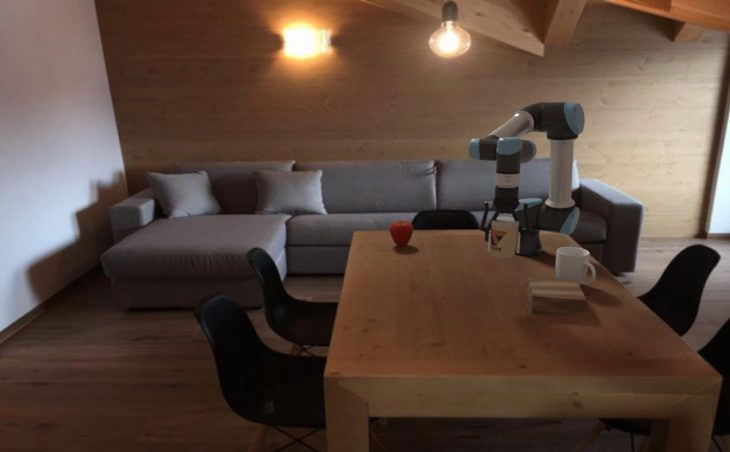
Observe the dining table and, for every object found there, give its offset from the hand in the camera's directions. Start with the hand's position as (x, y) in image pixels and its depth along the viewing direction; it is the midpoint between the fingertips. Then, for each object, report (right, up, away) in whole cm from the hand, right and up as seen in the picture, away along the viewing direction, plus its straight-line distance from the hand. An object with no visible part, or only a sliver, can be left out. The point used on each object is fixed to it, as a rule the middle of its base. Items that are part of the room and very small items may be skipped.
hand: (503, 251), depth 168 cm
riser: (+17, -18, -1) cm, 25 cm away
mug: (+29, -14, +14) cm, 35 cm away
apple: (-30, -1, +63) cm, 70 cm away
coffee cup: (0, -1, 0) cm, 1 cm away
